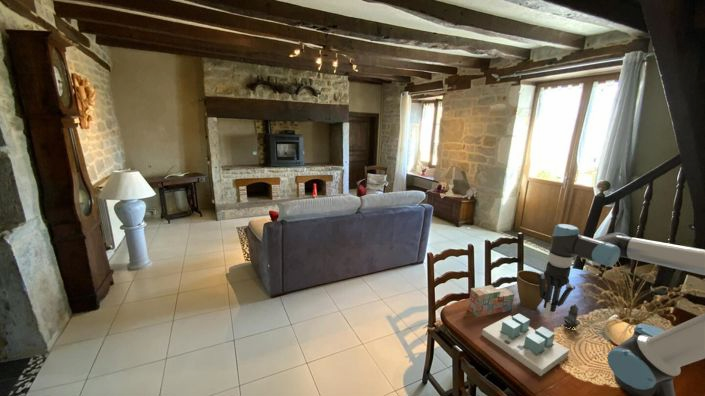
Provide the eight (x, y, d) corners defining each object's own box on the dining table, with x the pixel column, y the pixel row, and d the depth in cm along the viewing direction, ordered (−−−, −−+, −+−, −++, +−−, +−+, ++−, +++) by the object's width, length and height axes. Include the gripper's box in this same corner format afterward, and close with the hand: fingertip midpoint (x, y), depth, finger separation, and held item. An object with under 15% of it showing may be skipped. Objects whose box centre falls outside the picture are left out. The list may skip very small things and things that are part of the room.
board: (567, 356, 117) (569, 349, 116) (540, 376, 107) (542, 368, 106) (509, 320, 138) (510, 314, 137) (481, 334, 128) (482, 328, 127)
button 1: (518, 334, 124) (520, 324, 123) (511, 338, 121) (513, 328, 120) (507, 327, 128) (509, 318, 127) (500, 331, 126) (502, 321, 124)
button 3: (543, 350, 115) (545, 339, 114) (536, 354, 113) (538, 343, 112) (530, 342, 120) (532, 331, 118) (523, 346, 117) (525, 335, 116)
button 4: (552, 343, 119) (554, 333, 118) (546, 348, 116) (548, 337, 115) (540, 336, 123) (542, 326, 122) (533, 340, 121) (535, 330, 119)
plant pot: (506, 298, 156) (510, 271, 152) (529, 295, 158) (534, 269, 155) (527, 315, 141) (532, 286, 138) (553, 312, 144) (559, 283, 140)
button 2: (528, 329, 127) (530, 319, 126) (521, 333, 125) (523, 323, 124) (517, 322, 131) (518, 313, 130) (510, 326, 129) (512, 316, 128)
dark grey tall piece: (580, 332, 131) (586, 308, 128) (566, 330, 132) (571, 307, 129) (573, 323, 136) (578, 301, 133) (559, 321, 137) (564, 299, 134)
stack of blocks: (502, 303, 151) (506, 282, 148) (512, 310, 145) (515, 288, 142) (467, 309, 146) (470, 288, 143) (476, 317, 140) (479, 295, 137)
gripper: (583, 268, 107) (570, 323, 113) (546, 255, 118) (536, 305, 124) (573, 273, 104) (560, 329, 110) (536, 259, 115) (526, 310, 121)
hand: (547, 316), depth 117 cm, fingers closed
